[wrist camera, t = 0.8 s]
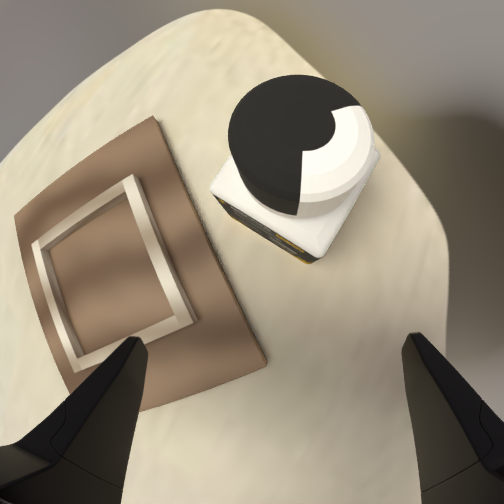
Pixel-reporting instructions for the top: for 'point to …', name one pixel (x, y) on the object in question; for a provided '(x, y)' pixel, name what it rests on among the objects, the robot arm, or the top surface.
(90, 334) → the walnut stand
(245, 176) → the medicine bottle
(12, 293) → the top surface
